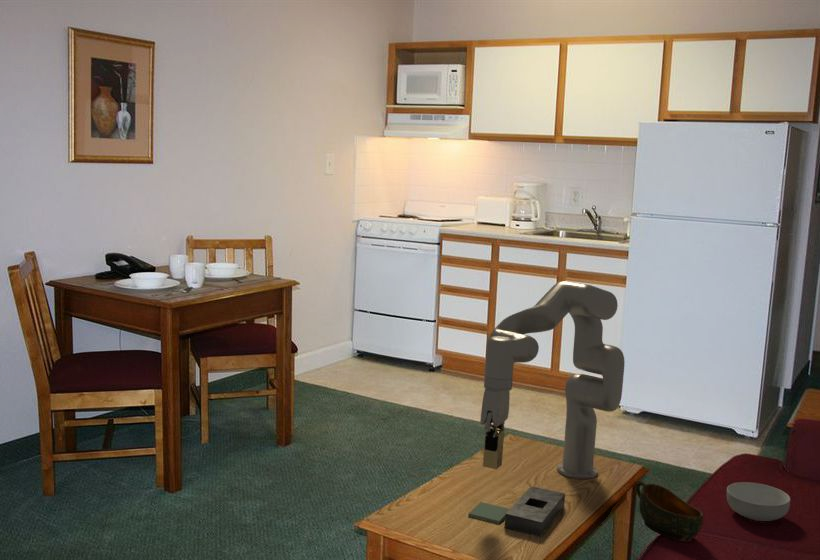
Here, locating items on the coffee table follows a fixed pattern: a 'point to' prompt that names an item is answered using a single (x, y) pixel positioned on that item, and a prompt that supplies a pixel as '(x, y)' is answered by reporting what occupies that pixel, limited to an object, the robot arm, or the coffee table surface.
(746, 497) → the cereal bowl
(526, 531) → the dark square-hole plate
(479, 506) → the green mat
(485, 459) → the brass plug
